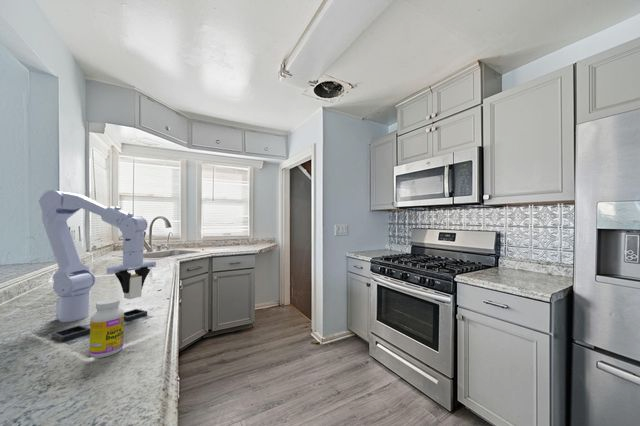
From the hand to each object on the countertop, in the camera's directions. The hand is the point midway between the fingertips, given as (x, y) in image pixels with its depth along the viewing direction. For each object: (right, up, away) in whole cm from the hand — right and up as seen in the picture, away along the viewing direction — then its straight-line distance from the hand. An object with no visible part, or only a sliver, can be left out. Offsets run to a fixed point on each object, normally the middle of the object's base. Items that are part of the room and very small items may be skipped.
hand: (132, 291), depth 89 cm
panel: (-3, -9, -7) cm, 12 cm away
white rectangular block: (0, -2, 0) cm, 2 cm away
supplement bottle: (+10, -9, -23) cm, 27 cm away
